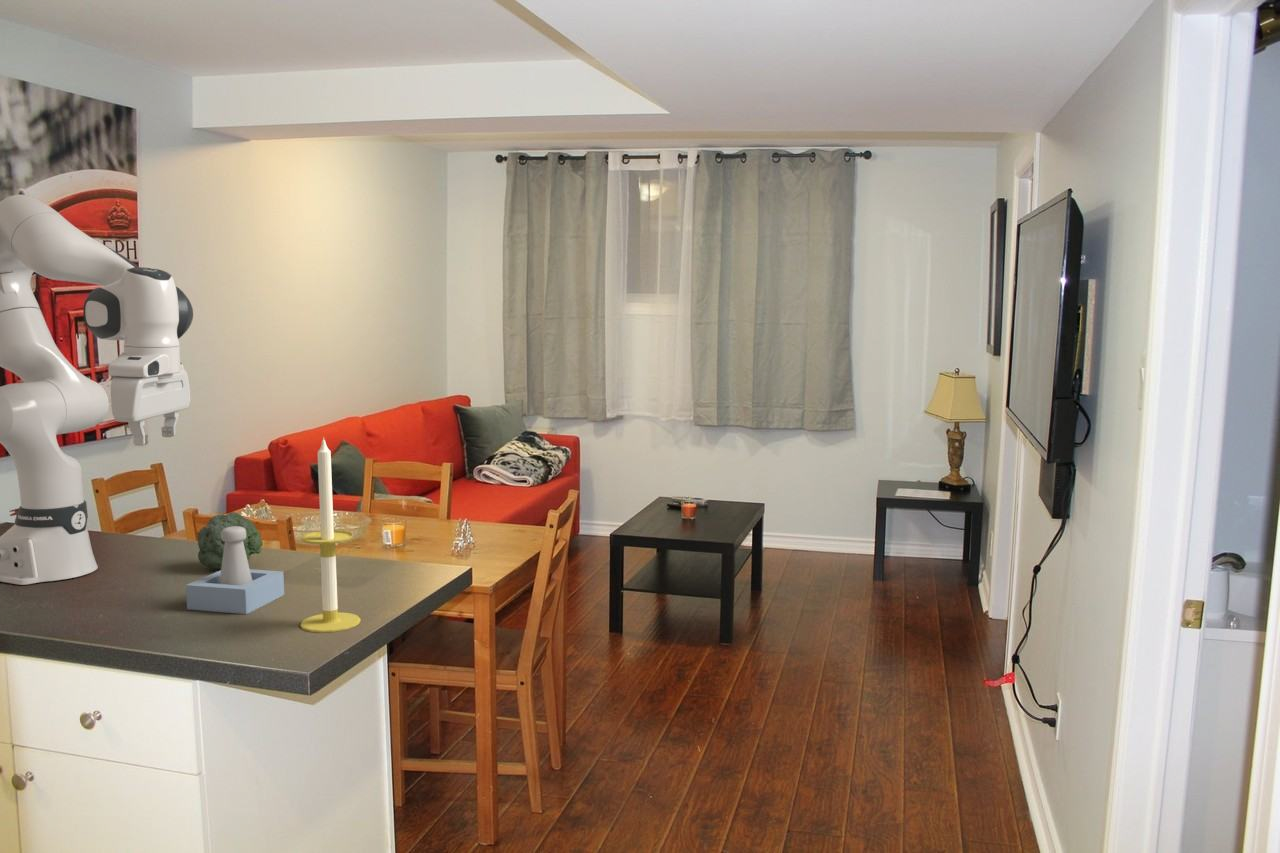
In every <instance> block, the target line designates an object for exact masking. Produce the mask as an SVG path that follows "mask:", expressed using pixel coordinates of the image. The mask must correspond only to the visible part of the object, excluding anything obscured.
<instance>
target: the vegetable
mask: <svg viewBox="0 0 1280 853" xmlns="http://www.w3.org/2000/svg"><path fill="white" fill-rule="evenodd" d="M255 525H256V524H254V523H253V521H251V520H250V519H249V518H246V517H244V515H241V514H239V513H238V512H235V511H233V512H229V513H228V514H226V515H224V513H223V514H216V515H214V516H212V518H210V519H209V521H208V522H207V524H206V525H205V526H204V527H202V528H200V529H199V531H198V533H197V546H198V549H199V551H198V553H197V557H198V558H197V560H199V563H200V564H202V566H205V567H206V569H207V570H209V572H210V571H218V570H219V569H220V570H221V567H222V560H223V553H224V545H225V542H224V541H222V539H221V531H222V530H223V529H225V528H227V527H232V526H239V527H243V528H245V530H246V539H245V540H243V543H244V547H245V552H246V556H247V560H249V559H250V558H252V557H253V556H254V555H255V554H260V553H261V552H262V546H263V543H264V542H263V541H262V538H261V537H262V534H261V532H260V531H258V530H257V527H256V526H255Z"/></svg>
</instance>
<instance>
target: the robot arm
mask: <svg viewBox="0 0 1280 853" xmlns="http://www.w3.org/2000/svg"><path fill="white" fill-rule="evenodd" d="M33 274H35V275H36V276H37V277H39V278H47V279H50V280H54V281H55V280H56V281H63V282H65V281H66V282H73V283H74V282H75V283H83V284H92V285H98V286H101V287H95V288H93V290H91V291H90V293H89V294H88V295H87V297H86V298H85V301H84V303H83V307H82V308H83V311H82V312H83V320H84V323H85V325H86V327H87V329H88V330H89V331H90V333H91V334H93V335H94V336H95V337H96V338H98V339H100V340H105V341H123V352H121V353H120V355H119V356H117V358H115V359H114V360H112V361H111V362H110V363H109V364H108V369H107V370H108V371H107V372H108V375H109V376H110V377H113V378H112V380H111V382H110V401H109V397H108V395H107V392H106V390H105V388H104V387H103V386H102V385H101V384H100V383H99V382H96V381H94V380H92V379H91V378H89V377H87V376H85V375H84V374H83V373H82V372H80V371H79V370H78V369H77V368H75V367H74V365H73V364H71V362H69V360H68V359H67V358H66V357H65V355H64V354H63V353H62V352H61V351H60V349H59V347H58V346H57V344H56V343H55V340H54V339H53V336H52V334H51V332H50V329H49V327H48V325H47V322H46V320H45V317H44V315H43V312H42V310H41V308H40V305H39V303H38V301H37V299H36V297H35V294H34V293H33V289H32V286H31V280H32V276H33ZM193 319H194V309H193V306H192V303H191V301H190V299H189V298H188V296H187V295H186V293H184V291H183V290H181V289H180V288H179V287H178V286H176V283H175V279H174V276H173V275H172V274H170V273H169V272H168V271H165V270H163V269H162V270H161V269H159V268H150V267H140V266H138V265H137V264H136V263H134V262H133V261H132V260H130V259H129V258H127V256H126V257H125V256H124V255H123V254H121V253H119V252H118V251H116V250H114V249H112V248H110V247H109V246H107V245H105V244H103V243H102V242H100V241H98V240H96V239H95V238H93V237H91V236H89V235H88V234H87V233H86V232H83V231H82V230H81V229H79V228H77V227H76V226H75V225H73V224H72V223H71V222H70V221H69V220H67V219H66V218H65V217H64V216H62V214H60V213H59V212H58V211H57V210H55V209H54V208H53V207H51V206H50V205H48V204H46V203H45V202H43V201H41V200H39V199H38V198H36V197H33V196H31V195H28V194H13V195H10V196H7V197H5V198H4V199H2V200H1V201H0V368H3V369H4V370H7V371H9V372H11V373H12V374H14V375H15V376H17V377H18V378H20V380H22V382H15V383H8V384H5V385H2V386H0V444H1V445H2V446H3V448H5V451H7V452H8V454H9V455H10V458H11V460H12V462H13V463H14V466H15V470H16V474H17V479H18V480H17V481H18V487H19V488H18V489H19V496H20V506H19V507H17V508H15V509H11V510H9V512H10V513H11V512H13V513H11V514H9V516H10V517H13V516H16V517H15V519H14V524H13V525H12V526H11V527H10V528H9V529H7V530H6V531H5V532H4V533H3V534H1V535H0V582H1V583H8V584H14V585H18V586H19V585H21V586H22V585H23V586H25V585H32V584H36V583H44V582H54V581H61V580H68V579H72V578H78V577H82V576H85V575H88V574H91V573H94V572H95V571H97V570H98V568H99V567H98V563H97V562H96V558H95V555H94V552H93V549H92V544H91V539H90V535H89V530H88V526H87V524H88V517H89V516H88V514H89V513H88V505H87V504H88V503H87V501H86V500H85V497H84V496H85V495H84V494H85V492H84V483H83V482H84V480H83V467H82V465H81V464H80V462H79V461H78V460H77V459H76V458H75V457H73V456H70V455H68V454H66V453H65V452H63V450H62V449H61V447H60V446H59V443H58V439H57V436H58V435H63V434H71V433H76V432H82V431H84V430H88V429H90V428H93V427H94V426H97V425H99V424H102V423H103V422H104V420H105V419H106V417H107V416H108V413H109V408H110V406H111V414H112V417H113V418H114V420H115V421H116V422H119V423H120V422H121V423H128V425H127V426H128V428H129V430H130V433H131V434H132V440H133V445H134V446H136V447H138V446H139V447H142V446H145V445H147V444H148V443H149V441H148V439H149V437H148V434H146V433H145V429H144V427H145V423H146V422H145V421H146V420H148V419H151V418H152V419H153V418H156V417H160V416H163V418H164V422H163V426H162V427H161V437H162V438H172V437H174V436H176V426H177V423H178V421H179V420H178V419H179V413H180V412H179V411H182V410H183V411H184V410H187V409H189V407H190V405H191V402H192V401H191V389H190V388H191V387H190V379H189V374H188V371H187V370H186V369H185V366H184V364H183V363H182V362H181V347H180V346H181V345H180V340H179V339H180V338H182V337H183V336H184V334H186V333H187V331H188V330H189V328H190V327H191V325H192V322H193ZM110 403H111V405H110Z"/></svg>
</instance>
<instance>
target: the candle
mask: <svg viewBox="0 0 1280 853" xmlns="http://www.w3.org/2000/svg"><path fill="white" fill-rule="evenodd" d="M320 445H321V446H320V448H319V449H318V451H317V472H318V496H319V522H320V525H319V526H320V530H319V531H313V532H312V531H311V532H308V533H306V534H304V535H302V536H301V537H300V539H301V540H300V541H302V542H303V543H306V544H310V545H311V544H312V545H319V553H320V576H321V577H320V578H321V580H320V581H321V604H322V613H320V614H319V613H318V614H316V615H311V616H309V617H307V618H304V619H303V620H301V623H300V628H301V629H302V630H303V631H306V632H310V633H322V634H324V633H335V632H342V631H347V630H349V629H353V628H354V627H356V626H357V625H359V624H360V623H361V618H360V617H359V616H358V615H357V614H354V613H350V612H341V611H340V612H339V610H338V609H339V606H338V604H339V603H338V582H337V581H338V580H337V558H336V557H337V555H336V553H337V552H336V544H338V543H343V542H346V541H347V542H348V541H349V540H351V539H353V537H354V533H352V532H351V531H349V530H337V529H334V528H335V527H334V509H333V508H334V506H333V505H334V503H333V483H332V482H333V480H332V476H333V475H332V456H331V454H332V452H331V450H330V449H329V448H328V446H327V443H326V439H325V436H323V438H322V440H321V444H320Z"/></svg>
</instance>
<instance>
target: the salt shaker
mask: <svg viewBox="0 0 1280 853" xmlns="http://www.w3.org/2000/svg"><path fill="white" fill-rule="evenodd" d="M221 539H222V541H224V542H225V545H224V553H223V560H222V567H221V569H220V570H221V575H220V582H219V584H227V585H240V586H242V585H244V584H247V583H249V582H251V581H253V580H252V577H251V573H250V569H251V568H250V566H249V561H248V560H249V559H248V560H247V556H246V552H245V547H244V543H243V540H245V539H246V530H245V528H243V527H239V526H232V527H227V528H225V529H223V530H222V531H221Z"/></svg>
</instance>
